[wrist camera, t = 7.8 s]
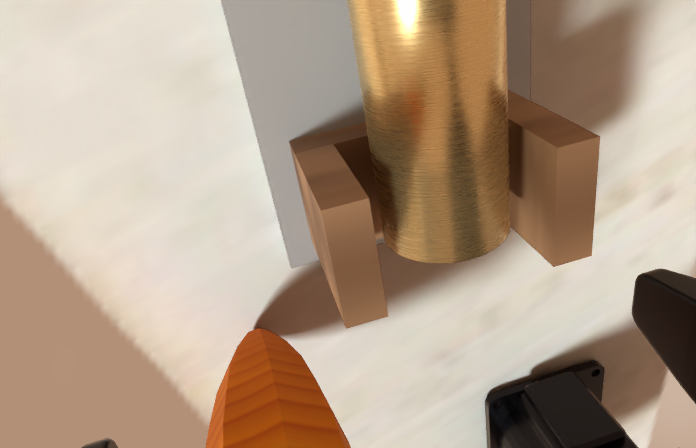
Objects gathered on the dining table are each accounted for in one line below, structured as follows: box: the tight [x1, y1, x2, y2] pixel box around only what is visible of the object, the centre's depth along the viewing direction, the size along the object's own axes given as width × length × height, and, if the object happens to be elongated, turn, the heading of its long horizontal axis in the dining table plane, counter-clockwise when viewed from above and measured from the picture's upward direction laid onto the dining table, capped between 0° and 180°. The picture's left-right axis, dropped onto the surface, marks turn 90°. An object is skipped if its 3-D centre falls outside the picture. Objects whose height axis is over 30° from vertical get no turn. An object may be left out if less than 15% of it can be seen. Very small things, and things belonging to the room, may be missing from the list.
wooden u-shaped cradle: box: [289, 90, 600, 329], centre depth 18 cm, size 4×8×5 cm, turn 100°
